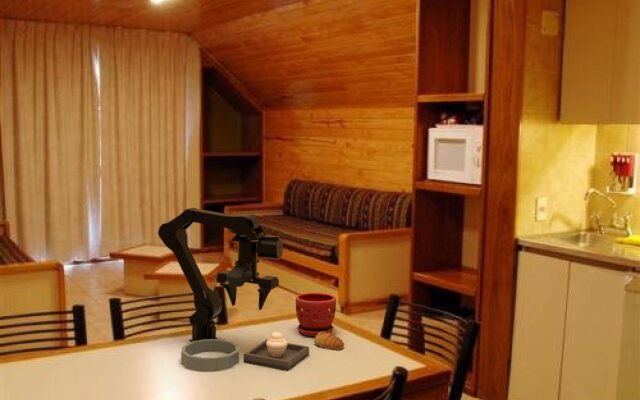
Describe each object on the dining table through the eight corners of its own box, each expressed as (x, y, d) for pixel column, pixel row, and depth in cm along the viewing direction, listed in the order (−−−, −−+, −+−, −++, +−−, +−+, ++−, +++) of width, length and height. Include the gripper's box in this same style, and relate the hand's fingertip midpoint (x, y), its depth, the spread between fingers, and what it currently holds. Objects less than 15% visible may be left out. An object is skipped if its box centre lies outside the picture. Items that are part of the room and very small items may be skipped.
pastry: (349, 347, 202) (349, 335, 201) (335, 353, 197) (336, 341, 196) (325, 340, 208) (325, 328, 207) (311, 346, 202) (311, 334, 202)
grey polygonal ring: (170, 364, 183) (170, 352, 183) (202, 347, 198) (202, 336, 197) (219, 375, 177) (219, 362, 177) (249, 356, 192) (249, 344, 191)
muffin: (284, 360, 186) (284, 336, 186) (263, 358, 188) (263, 334, 187) (289, 352, 192) (290, 329, 192) (269, 350, 194) (269, 327, 193)
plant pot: (343, 332, 215) (344, 296, 214) (315, 341, 206) (316, 304, 204) (314, 323, 224) (315, 289, 222) (286, 331, 214) (287, 295, 213)
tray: (243, 362, 187) (243, 353, 186) (266, 347, 199) (267, 339, 199) (287, 371, 181) (288, 362, 181) (309, 354, 194) (309, 346, 193)
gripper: (205, 258, 193) (205, 310, 195) (262, 265, 185) (261, 319, 187) (226, 251, 203) (225, 301, 205) (280, 258, 196) (279, 309, 198)
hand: (246, 307), depth 198 cm, fingers open, 9 cm apart
